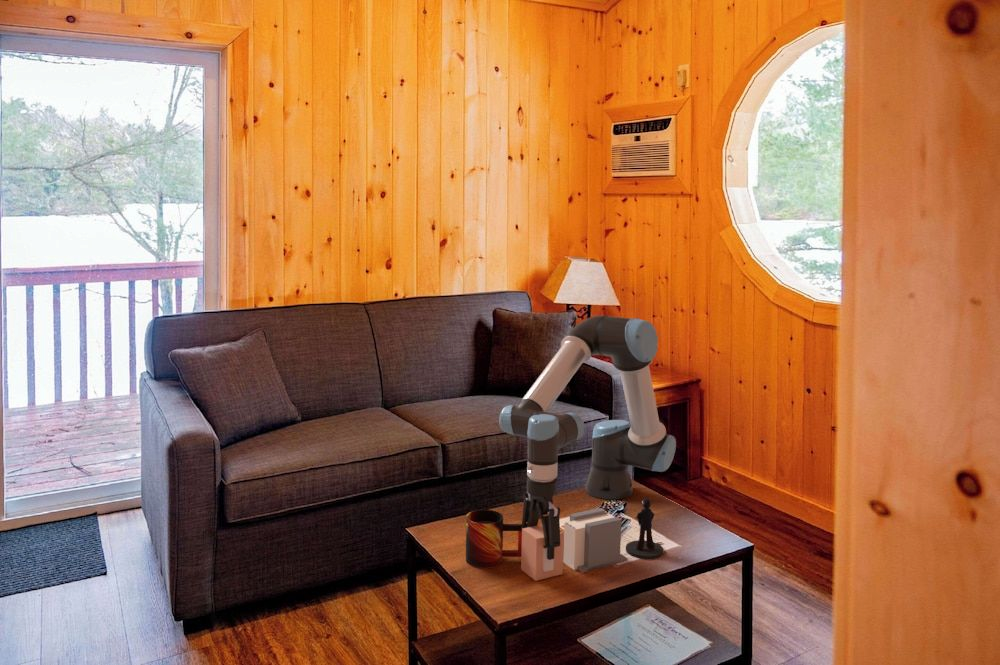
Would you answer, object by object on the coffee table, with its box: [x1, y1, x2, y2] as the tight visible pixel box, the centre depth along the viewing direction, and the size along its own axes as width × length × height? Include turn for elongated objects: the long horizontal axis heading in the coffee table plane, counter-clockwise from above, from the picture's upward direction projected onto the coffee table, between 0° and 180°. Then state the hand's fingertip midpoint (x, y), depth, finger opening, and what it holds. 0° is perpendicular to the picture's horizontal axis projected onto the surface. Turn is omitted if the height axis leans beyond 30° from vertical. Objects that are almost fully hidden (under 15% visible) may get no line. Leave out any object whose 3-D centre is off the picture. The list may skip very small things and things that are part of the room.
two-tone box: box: [563, 507, 628, 573], centre depth 218 cm, size 16×9×12 cm, turn 119°
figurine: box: [625, 497, 665, 560], centre depth 224 cm, size 10×10×15 cm
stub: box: [520, 524, 564, 582], centre depth 211 cm, size 8×7×11 cm
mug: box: [465, 509, 523, 569], centre depth 219 cm, size 10×14×12 cm
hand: (539, 563), depth 211 cm, fingers closed on stub, 7 cm apart
